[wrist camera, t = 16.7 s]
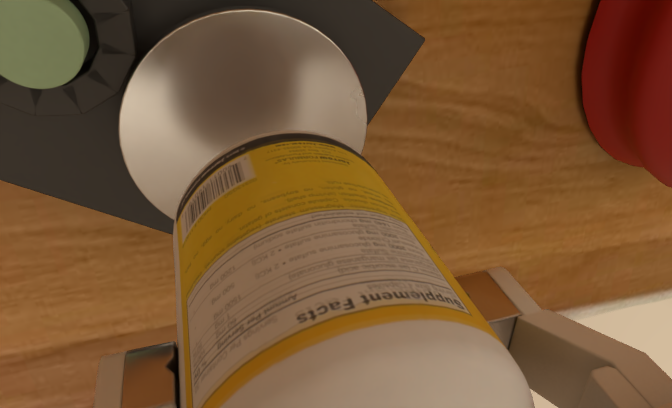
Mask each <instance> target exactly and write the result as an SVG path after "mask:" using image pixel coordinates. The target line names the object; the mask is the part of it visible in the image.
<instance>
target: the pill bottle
mask: <svg viewBox="0 0 672 408" xmlns="http://www.w3.org/2000/svg"><path fill="white" fill-rule="evenodd" d="M173 249H174V266H175V285H176V312H177V345H178V373H179V398H180V408H535V407H534V402H533V398H532V394H531V392H530V388H529V386H528V383H527V381H526V379H525V377H524V375H523V373H522V371H521V370H520V368H519V366H518V365H517V363H516V362H515V360H514V359H513V357H512V356H511V354H510V353H509V351H508V350H507V349H506V347H505V346H504V344H503V343H502V342H501V340H500V339H499V338H498V336H497V335H496V333H495V332H494V331H493V329H492V328H491V327H490V325H489V324H488V323H487V321H486V320H485V319H484V317H483V316H482V314H481V313H480V312H479V310H478V309H477V308H476V306H475V305H474V304H473V302H472V301H471V300H470V298H469V297H468V295H467V294H466V293H465V291H464V290H463V289H462V287H461V286H460V285H459V283H458V282H457V281H456V279H455V278H454V276H453V275H452V274H451V272H450V271H449V270H448V268H447V267H446V266H445V264H444V263H443V262H442V260H441V259H440V257H439V256H438V255H437V253H436V252H435V251H434V249H433V248H432V247H431V245H430V244H429V242H428V241H427V240H426V238H425V237H424V236H423V234H422V233H421V231H420V230H419V229H418V227H417V226H416V225H415V223H414V222H413V221H412V219H411V218H410V217H409V215H408V214H407V213H406V212H405V210H404V209H403V207H402V206H401V205H400V203H399V202H398V201H397V199H396V198H395V197H394V195H393V194H392V193H391V191H390V190H389V189H388V187H387V186H386V184H385V183H384V182H383V180H382V179H381V178H380V177H379V175H378V173H377V172H376V171H375V169H374V168H373V167H372V166H371V165H370V164H369V163H368V162H367V161H366V160H365V159H364V158H363V157H362V156H361V155H360V154H359V153H358V152H357V151H355V150H354V149H352V148H351V147H350V146H348V145H347V144H345V143H343V142H341V141H339V140H337V139H335V138H332V137H329V136H326V135H323V134H320V133H315V132H310V131H300V130H285V131H275V132H269V133H264V134H260V135H257V136H254V137H251V138H248V139H245V140H243V141H241V142H239V143H236V144H234V145H232V146H231V147H229V148H227V149H226V150H224V151H222V152H221V153H220V154H218V155H217V156H216V157H214V158H213V159H212V160H211V161H210V162H208V163H207V164H206V165H205V166H204V167H203V168H202V169H201V170H200V171H199V172H198V173H197V175H196V176H195V177H194V178H193V180H192V181H191V182H190V184H189V185H188V187H187V189H186V190H185V192H184V194H183V196H182V198H181V200H180V203H179V206H178V209H177V212H176V216H175V221H174V229H173Z"/></svg>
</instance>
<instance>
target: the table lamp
mask: <svg viewBox="0 0 672 408" xmlns="http://www.w3.org/2000/svg"><path fill="white" fill-rule="evenodd" d="M581 73H582V94H583V106H584V110H585V113H586V117H587V120H588V124H589V127H590V129H591V131H592V133H593V135H594V136H595V138H596V140H597V141H598V143H599V145H600V146H601V147H602V148H603V149H604V150H605V151H606V152H607V153H609V154H610V155H611V156H612V157H613V158H614V159H616V160H619V161H622V162H624V163H627V164H629V165H632V166H638V167H644V168H645V169H646V170H647V171H649V172H650V173H651V174H652V175H653V176H654V177H655V178H657V179H658V180H659V181H660V182H662V183H663V184H665V185H666V186H668V187H671V188H672V0H601V1H600V3H599V6H598V9H597V12H596V15H595V18H594V21H593V24H592V27H591V30H590V33H589V36H588V39H587V44H586V50H585V55H584V61H583V67H582V72H581Z"/></svg>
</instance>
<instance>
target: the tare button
mask: <svg viewBox="0 0 672 408" xmlns="http://www.w3.org/2000/svg"><path fill="white" fill-rule="evenodd" d="M89 39H90V38H89V31H88V27H87V24H86V22H85V20H84V18H83V16H82V14H81V13H80V11H79V10H78V9H77V8H76V6H75V5H74V4H73V3H72V2H70V1H69V0H0V75H2V76H3V77H5V78H6V79H8V80H10V81H12V82H14V83H16V84H19V85H21V86H25V87H29V88H35V89H49V88H54V87H58V86H61V85H63V84H65V83H67V82H69V81H70V80H71V79H73V78H74V77H75V76H76V75H77V73H78V72H79V71H80V69H81V67H82V65H83V62H84V59H85V57H86V54H87V52H88V49H89Z"/></svg>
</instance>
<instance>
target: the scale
mask: <svg viewBox="0 0 672 408" xmlns="http://www.w3.org/2000/svg"><path fill="white" fill-rule="evenodd" d="M69 1H70V2H72V3H73V4H74V5H75V6H76V8H77V9H78V10H79V11H80V13H81V14H82V16H83V18H84V20H85V22H86V24H87V27H88V31H89V38H90V39H89V49H88V52H87V54H86V57H85V59H84V62H83V65H82V67H81V69H80V71H79V72H78V73H77V75H76V76H75V77H74V78H73V79H71V80H70V81H69V82H67V83H65V84H63V85H61V86H58V87H54V88H49V89H35V88H29V87H25V86H21V85H19V84H16V83H14V82H12V81H10V80H8V79H6V78H5V77H3V76H2V75H0V180H2V181H5V182H8V183H12V184H15V185H18V186H21V187H24V188H27V189H31V190H34V191H37V192H40V193H43V194H46V195H49V196H53V197H56V198H59V199H62V200H65V201H68V202H72V203H75V204H78V205H81V206H84V207H87V208H90V209H94V210H97V211H100V212H103V213H106V214H109V215H113V216H116V217H119V218H122V219H125V220H128V221H131V222H135V223H138V224H141V225H144V226H147V227H150V228H154V229H157V230H160V231H163V232H166V233H169V234H172V235H173V229H174V221H175V220H173V219H171V218H170V217H168V216H167V215H165V214H164V213H163V212H161V211H160V210H158V209H157V208H156V207H155V206H154V205H153V204H152V203H151V202H150V201H149V200H148V199H147V198H146V197H145V196H144V195H143V193H142V192H141V191H140V190H139V188H138V187H137V186H136V184H135V182H134V181H133V179H132V177H131V176H130V174H129V172H128V169H127V167H126V165H125V162H124V160H123V156H122V152H121V148H120V144H119V134H118V120H119V109H120V104H121V99H122V95H123V91H124V88H125V86H126V83H127V80H128V78H129V76H130V74H131V72H132V70H133V68H134V67H135V65H136V63H137V61H138V60H139V59H140V58H141V56H142V55H143V54H144V52H145V51H146V50H147V49H148V47H149V46H150V45H152V44H153V43H154V42H155V41H156V40H157V39H158V38H159V37H160V36H161V35H162V34H164V33H165V32H167V31H168V30H169V29H171V28H172V27H174V26H175V25H177V24H179V23H181V22H182V21H184V20H186V19H188V18H190V17H192V16H195V15H198V14H201V13H204V12H207V11H209V10H214V9H219V8H224V7H232V6H257V7H266V8H271V9H275V10H280V11H283V12H286V13H289V14H292V15H294V16H297V17H299V18H301V19H303V20H305V21H307V22H308V23H310V24H312V25H314V26H315V27H316V28H318V29H319V30H320V31H322V32H323V33H325V34H326V35H327V36H328V37H329V38H330V39H331V40H332V41H333V42H334V43H335V44H336V45H337V46H338V47H339V48H340V49H341V50H342V51H343V53H344V54H345V55H346V57H347V58H348V59H349V61H350V62H351V64H352V66H353V67H354V69H355V71H356V73H357V75H358V77H359V80H360V82H361V85H362V87H363V91H364V96H365V100H366V107H367V125H368V124H369V123H370V121H371V120H372V118H373V117H374V115H375V114H376V112H377V111H378V109H379V108H380V106H381V105H382V103H383V102H384V100H385V99H386V97H387V96H388V94H389V93H390V91H391V90H392V89H393V87H394V86H395V84H396V83H397V81H398V80H399V78H400V77H401V75H402V74H403V72H404V71H405V69H406V68H407V66H408V65H409V63H410V62H411V60H412V59H413V57H414V56H415V55H416V53H417V52H418V50H419V49H420V47H421V46H422V44H423V43H424V41H425V38H423V37H422V36H421V35H419V34H418V33H417V32H415V31H414V30H412V29H411V28H410V27H408V26H407V25H405V24H404V23H403V22H401V21H400V20H398V19H397V18H396V17H394V16H393V15H392V14H390V13H389V12H387V11H386V10H385V9H383V8H382V7H380V6H379V5H378V4H376V3H375V2H373V1H372V0H69Z"/></svg>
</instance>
